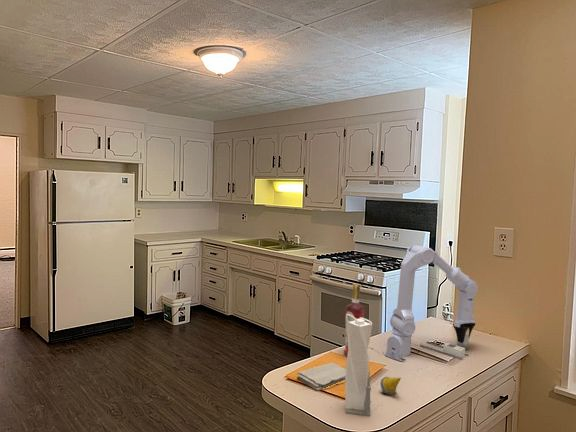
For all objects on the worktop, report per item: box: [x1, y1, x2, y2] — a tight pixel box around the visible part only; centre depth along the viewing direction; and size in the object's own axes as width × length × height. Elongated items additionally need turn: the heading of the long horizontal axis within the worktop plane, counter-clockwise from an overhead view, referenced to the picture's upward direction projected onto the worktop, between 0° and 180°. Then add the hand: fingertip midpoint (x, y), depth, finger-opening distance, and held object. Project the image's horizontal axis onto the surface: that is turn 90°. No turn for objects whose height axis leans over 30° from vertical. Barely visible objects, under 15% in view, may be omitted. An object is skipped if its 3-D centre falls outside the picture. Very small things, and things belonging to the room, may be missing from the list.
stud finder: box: [442, 342, 466, 358], centre depth 169 cm, size 4×7×3 cm, turn 44°
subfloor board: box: [419, 341, 469, 361], centre depth 174 cm, size 20×21×2 cm
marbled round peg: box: [456, 326, 470, 350], centre depth 175 cm, size 4×4×8 cm
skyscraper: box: [344, 313, 374, 417], centre depth 127 cm, size 8×8×28 cm
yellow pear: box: [379, 376, 402, 396], centre depth 137 cm, size 5×5×10 cm
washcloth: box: [296, 362, 346, 391], centre depth 146 cm, size 12×18×3 cm, turn 129°
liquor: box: [343, 283, 366, 356], centre depth 166 cm, size 7×7×28 cm
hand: (463, 340), depth 175 cm, fingers closed on marbled round peg, 4 cm apart
